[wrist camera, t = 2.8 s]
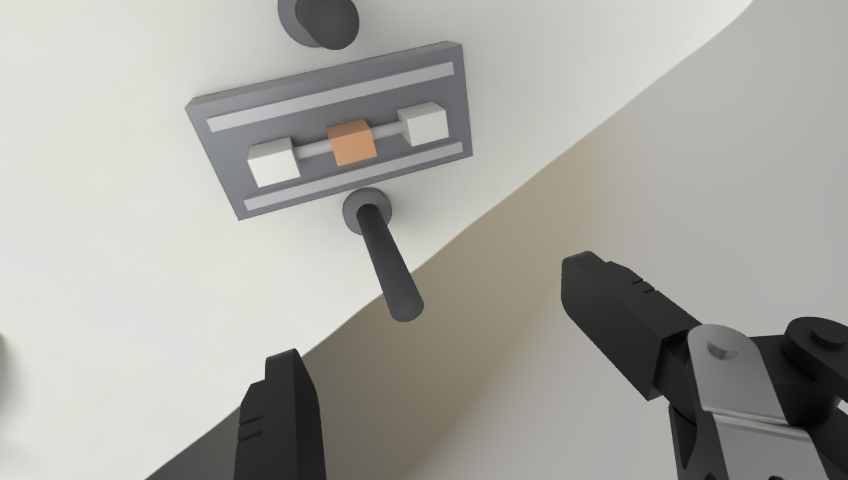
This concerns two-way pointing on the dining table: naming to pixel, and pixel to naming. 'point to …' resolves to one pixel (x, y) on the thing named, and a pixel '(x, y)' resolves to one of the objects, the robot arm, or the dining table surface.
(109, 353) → the dining table surface
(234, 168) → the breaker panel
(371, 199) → the dark grey lever handle
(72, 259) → the dining table surface
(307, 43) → the dark grey cylinder
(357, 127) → the white and orange bar
